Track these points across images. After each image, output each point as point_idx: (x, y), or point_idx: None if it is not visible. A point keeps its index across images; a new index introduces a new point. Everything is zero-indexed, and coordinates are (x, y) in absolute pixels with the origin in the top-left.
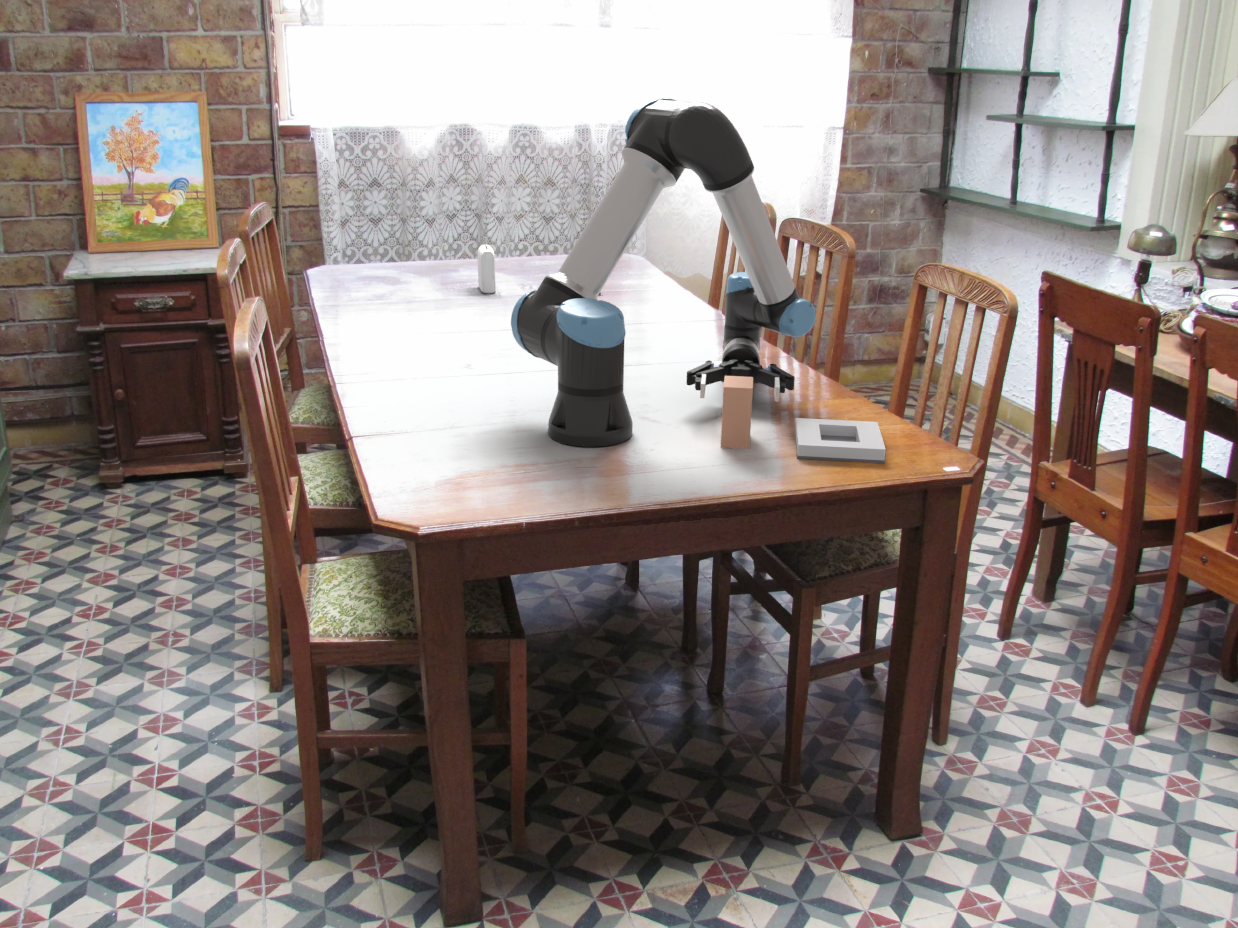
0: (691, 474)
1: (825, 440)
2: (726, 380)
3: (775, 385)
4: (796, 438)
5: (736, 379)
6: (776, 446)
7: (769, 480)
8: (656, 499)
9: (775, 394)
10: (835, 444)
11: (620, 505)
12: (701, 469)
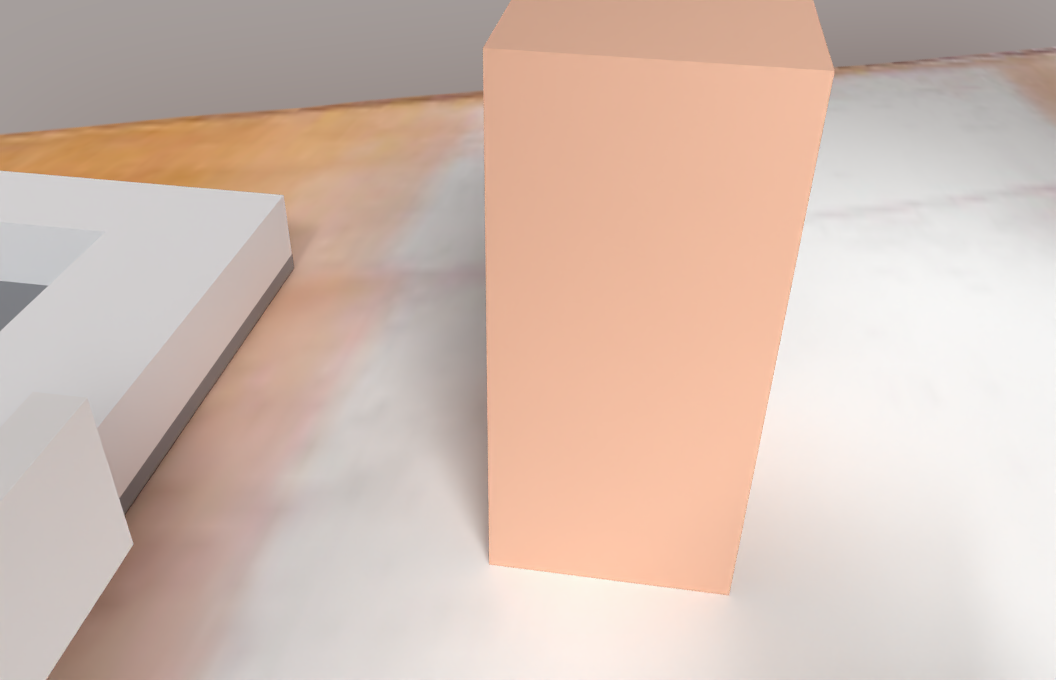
0: (837, 175)
1: (82, 227)
2: (792, 6)
3: (13, 502)
4: (183, 383)
5: (685, 17)
6: (345, 393)
7: None
8: (916, 77)
9: (109, 475)
10: (63, 195)
11: (1017, 61)
12: None
